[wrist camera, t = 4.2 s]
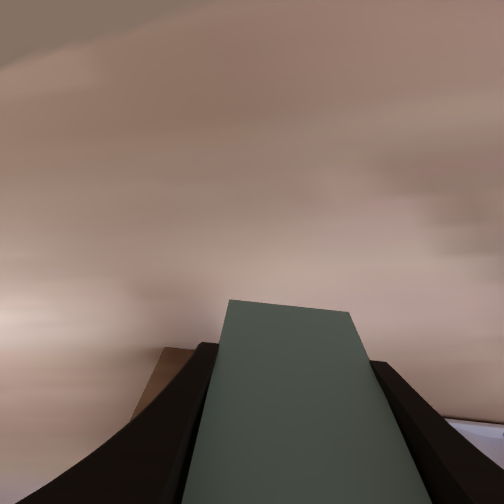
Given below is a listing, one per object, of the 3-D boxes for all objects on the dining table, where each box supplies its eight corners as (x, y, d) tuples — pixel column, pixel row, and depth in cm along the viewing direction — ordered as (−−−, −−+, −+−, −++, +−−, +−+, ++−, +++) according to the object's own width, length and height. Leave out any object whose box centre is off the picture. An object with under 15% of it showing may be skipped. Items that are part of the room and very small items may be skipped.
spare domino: (348, 312, 13) (534, 739, 4) (339, 351, 14) (479, 791, 5) (229, 299, 13) (137, 689, 4) (226, 339, 14) (142, 748, 5)
